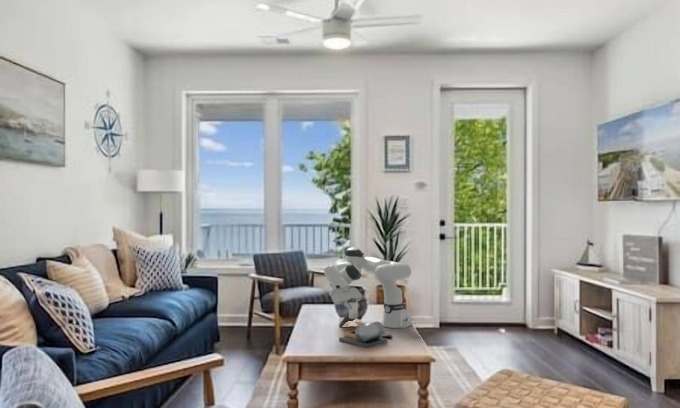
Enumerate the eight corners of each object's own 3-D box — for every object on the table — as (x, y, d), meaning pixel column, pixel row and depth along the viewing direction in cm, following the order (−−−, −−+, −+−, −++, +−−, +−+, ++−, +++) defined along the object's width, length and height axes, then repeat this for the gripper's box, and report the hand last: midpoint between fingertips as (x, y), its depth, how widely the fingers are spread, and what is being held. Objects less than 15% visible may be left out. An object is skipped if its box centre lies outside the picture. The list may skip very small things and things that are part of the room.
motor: (360, 335, 341) (360, 316, 341) (389, 341, 326) (389, 322, 325) (339, 341, 328) (338, 321, 328) (368, 348, 313) (368, 327, 313)
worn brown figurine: (356, 328, 368) (361, 300, 368) (357, 330, 362) (363, 302, 363) (338, 325, 366) (343, 297, 366) (339, 327, 360) (345, 299, 361)
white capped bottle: (353, 316, 333) (353, 297, 333) (359, 317, 330) (359, 298, 330) (347, 317, 330) (347, 298, 330) (353, 319, 326) (353, 299, 326)
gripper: (351, 289, 345) (363, 308, 338) (326, 294, 331) (338, 313, 324) (356, 283, 342) (369, 301, 335) (332, 287, 327) (344, 306, 321)
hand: (354, 307), depth 329 cm, fingers closed on white capped bottle, 5 cm apart
